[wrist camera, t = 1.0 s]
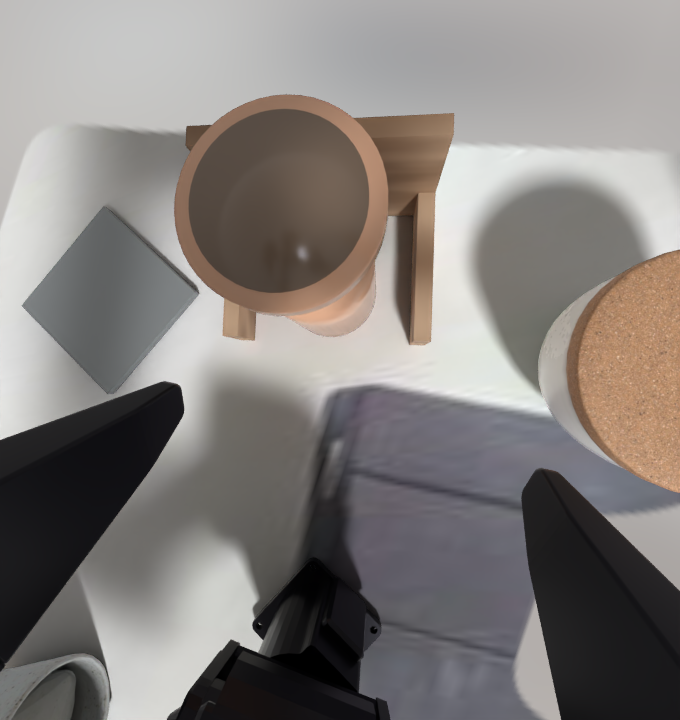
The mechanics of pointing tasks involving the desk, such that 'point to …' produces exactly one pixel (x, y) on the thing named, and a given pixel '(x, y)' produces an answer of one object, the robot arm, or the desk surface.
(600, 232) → the desk surface
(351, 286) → the terracotta pot
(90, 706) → the ceramic mug
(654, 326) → the lidded jar
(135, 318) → the slate mat
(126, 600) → the desk surface
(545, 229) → the desk surface
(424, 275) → the light wood arch piece
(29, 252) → the desk surface
